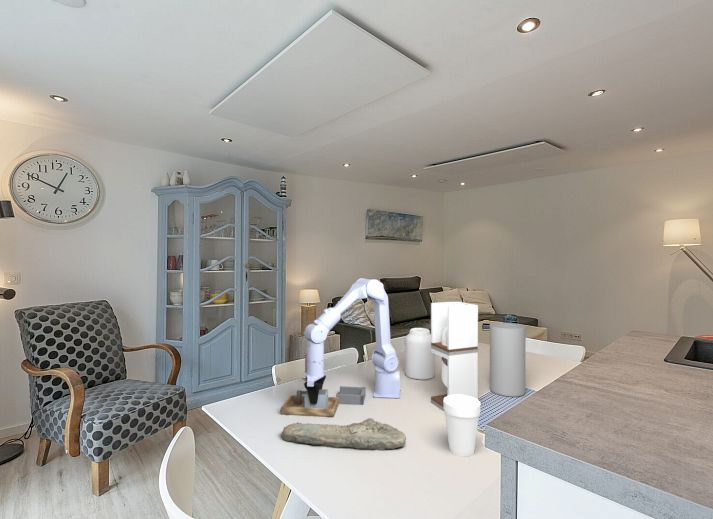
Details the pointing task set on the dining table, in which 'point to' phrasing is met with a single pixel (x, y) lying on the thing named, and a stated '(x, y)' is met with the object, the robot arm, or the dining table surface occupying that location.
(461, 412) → the foam cup
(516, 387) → the cylinder vase
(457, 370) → the white shelf unit
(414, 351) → the white jar
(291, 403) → the tray
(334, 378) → the dining table surface
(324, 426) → the long grey stone
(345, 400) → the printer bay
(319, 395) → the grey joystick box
